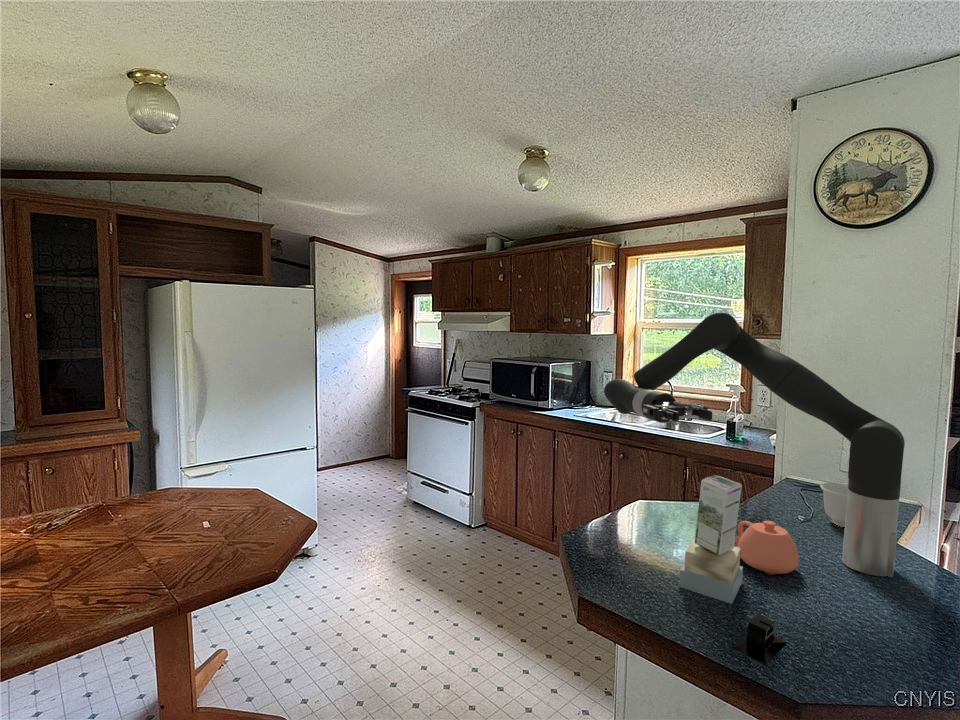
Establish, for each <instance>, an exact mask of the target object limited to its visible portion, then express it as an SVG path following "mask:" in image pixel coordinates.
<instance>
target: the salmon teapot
mask: <svg viewBox="0 0 960 720" xmlns="http://www.w3.org/2000/svg"><path fill="white" fill-rule="evenodd" d="M744 525H746V526H748V528H746V529H745V531H744ZM737 531H738V532H737V533H738V536H735V543H734V544H736V545H737V546H736V547H739V548H741V550H740V560H741V559H742V561H743V562H744V563H745V564H746V565H748V566H750V567H751V568H754V569H756V570H759V571H762V572H764V573H765V574H767V575H771V576H774V575H776V574H778V575H782V574H789V573H791V572H793V571H795V569H797V568H798V567H799V565H800V555H799V551H798V548H797V546H796V543H795V541H794V540H793V538H792V536H791V535H790V533H789V532H788V531H787V530H786V529H785V528H784V527H781V526H779V525H776V522H774V521H772V520H771V521H770V520H763V522H754V523H753V522H751V521H749V520H743V521H740V522H739V523H738V525H737Z"/></svg>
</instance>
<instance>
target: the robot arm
mask: <svg viewBox="0 0 960 720" xmlns="http://www.w3.org/2000/svg"><path fill="white" fill-rule="evenodd" d="M712 350H715V351H718V352H720V353H721V354H723V355H725V356H727V357H728V358H730V359H731V360H733V361H735V362H736V363H738V364H739V365H741V366H742V367H743V368H745V369H746V370H747V371H748V372H749V373H750V374H751V375H752V376H753V377H754V378H755V379H756V380H758V381H759V382H760V383H761V384H762V385H764V386H765V387H766V388H767V389H768V390H770V391H771V392H772V393H774V395H776V396H778V398H780V399H782V400H783V401H785V402H786V403H788V404H789V405H790V406H791V407H794V408H795V409H797V410H800V411H801V412H803V413H805V414H807V415H809V416H812V417H813V418H815V419H817V420H820V421H822V422H824V423H826V424H827V425H829V427H831V428H832V429H834V430H836V431H837V432H838V433H839V434H841V435H842V436H843V437H844V438H845V439H846V440H847V441H848V442H849V443H850V445H849V457H848V468H847V469H848V472H847V480H848V496H847V507H846V519H845V528H844V531H843V532H844V533H843V543H842V555H841V562H842V563H843V564H844V565H845V566H846V567H848V568H850V569H852V570H853V571H857V572H858V573H859V572H860V573H862V574H866V575H871V576H875V577H876V576H877V577H887V576H888V578H892V577H893V578H894V574H895V573H894V572H895V562H896V561H895V560H896V553H897V552H896V551H897V540H898V534H897V529H898V528H897V527H898V517H899V508H900V507H899V506H900V498H901V497H900V496H901V488H902V487H901V486H902V473H903V462H904V452H905V451H904V450H905V445H906V444H905V441H906V440H905V437H904V435H903V434H902V432H901V431H900V429H898V427H896V426H895V425H894V424H892V423H890V422H888V421H886V420H884V419H883V418H880V417H878V416H877V415H875V414H872V413H871V412H869V411H868V410H866V409H864V408H862V407H861V406H859V405H857V404H856V403H854V402H853V401H852V400H850V399H848V398H847V397H845V395H843V394H842V393H841V392H839V391H838V389H836V388H834V387H833V386H832V385H831V384H829V382H826V381H825V380H824V379H822V378H821V377H820V376H819V375H818V374H816V373H815V372H814V371H811V370H810V369H809V368H807V366H804V365H803V364H802V363H800V362H798V361H796V360H794V358H791V357H790V356H787V355H786V354H784V353H782V352H780V351H777V350H775V349H773V348H771V347H768V346H766V345H764V344H763V343H761V341H758V340H757V339H756V338H754V337H753V336H752V335H751V334H750V333H748V332H747V331H746V330H745V329H744V328H743V327H742V326H741V325H739V323H738V322H737V319H736V318H735V317H734V316H732V315H731V314H730V313H728V312H724V311H723V312H722V311H717V312H713V313H711V314H708V315H707V316H706V317H705V318H704V319H702V321H700V322H699V323H698V324H697V325H696V326H695V327H694V328H693V329H692V330H691V331H690V332H689V333H688V334H686V335H685V336H684V337H683V338H681V340H680V341H679V340H678V342H677V343H676V344H674V345H673V346H671V347H670V348H668V349H667V350H666V351H664V352H663V353H662V354H660V355H658V356H657V357H656V358H654V359H653V360H651V361H650V362H648V363H647V364H645V365H644V366H642V367H640V369H637V370H636V372H634V373H633V378H634V382H635V383H636V385H637V386H636V385H635V384H633V383H631V382H630V381H627V380H626V379H622V378H615V379H612V380H610V381H609V382H607V383H606V384H605V386H604V388H603V389H604V390H603V393H604V397H605V398H606V399H607V401H609V402H610V404H612V405H611V406H613V407H614V408H615V409H616V410H617V412H618V413H620V414H622V415H629V414H631V413H632V414H636V415H639V416H641V417H642V418H645V419H647V420H650V421H654V422H656V423H662V424H663V423H664V424H665V423H667V422H670V421H673V422H679V421H680V419H688V420H690V419H693V418H696V419H701V420H705V421H712V420H713V411H712V410H709V409H708V408H709V407H708V406H706V405H705V406H704V405H700V404H695V403H692V402H690V403H686V402H685V403H684V402H681V401H677V400H676V399H675V398H674V396H672V394H670V393H668V392H663V391H658V390H657V389H658V388H659V387H661V386H663V385H664V384H666V383H667V382H669V381H670V380H672V379H673V378H674V377H675V376H676V375H678V374H679V373H680V372H681V371H682V370H683V369H684V368H685V367H686V366H687V365H689V364H690V363H691V362H693V361H694V360H695V359H697V358H698V357H700V356H702V355H703V354H705V353H708V352H709V351H712ZM686 412H687V415H686Z"/></svg>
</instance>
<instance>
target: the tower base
mask: <svg viewBox="0 0 960 720" xmlns="http://www.w3.org/2000/svg"><path fill="white" fill-rule="evenodd" d="M684 568H685V563H683V565H682V567H681V568H680V569H679V579H678V582H679V583H678V587H679V588H681V589H684V588H685V590H687V589H688V591H690V590H691V592H695V593H697V594H700V595H703V596H706V597H710V598H713V599H715V600H719V601H722V602H725V603H727V604H731V605H733V603H734V601H735V599H736V596H737V595H738V593H739V590H740V589H739V588H741V587H740V586H742V584H743V573H744V566H741V565H739V569H738V571H737V574H736V576H735V579H734V582H733V584H731V583H728V582H724V581H721V580H717V579H714V578H710V577H707V576H703V575H700V574H696V573H693V572H689V571H686V570H684Z"/></svg>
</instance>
